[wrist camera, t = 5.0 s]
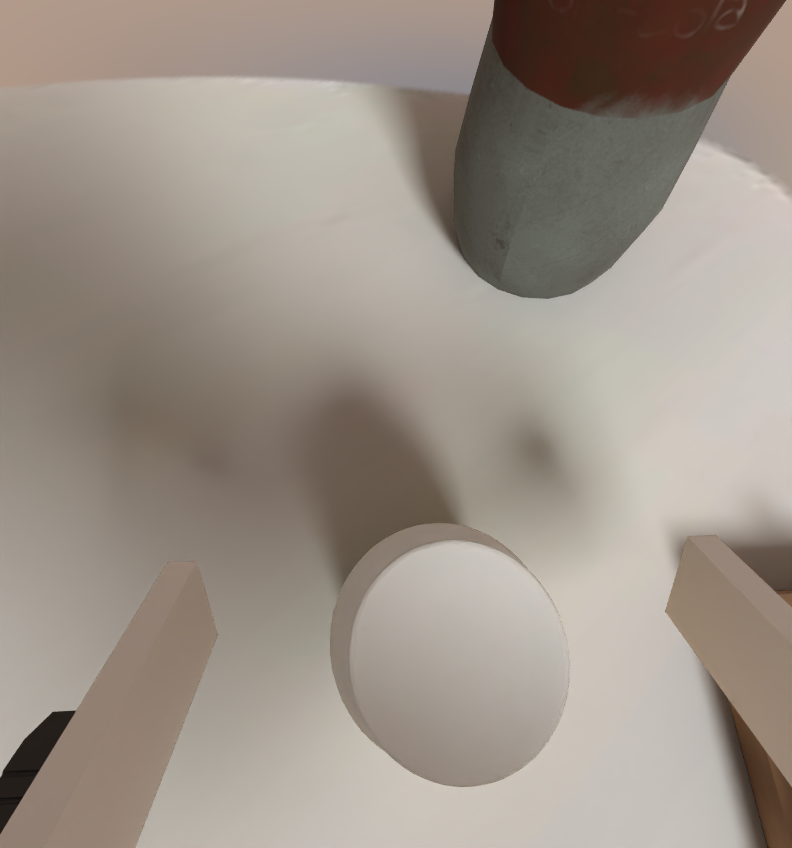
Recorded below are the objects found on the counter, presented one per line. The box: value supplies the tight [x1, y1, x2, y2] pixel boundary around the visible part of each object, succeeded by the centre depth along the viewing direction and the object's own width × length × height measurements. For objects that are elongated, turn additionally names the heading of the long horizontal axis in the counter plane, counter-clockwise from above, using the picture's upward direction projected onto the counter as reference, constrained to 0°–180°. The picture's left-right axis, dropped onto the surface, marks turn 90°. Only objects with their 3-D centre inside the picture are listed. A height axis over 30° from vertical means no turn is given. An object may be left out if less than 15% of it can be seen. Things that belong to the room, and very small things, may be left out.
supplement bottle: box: [330, 523, 570, 787], centre depth 12 cm, size 5×5×10 cm
